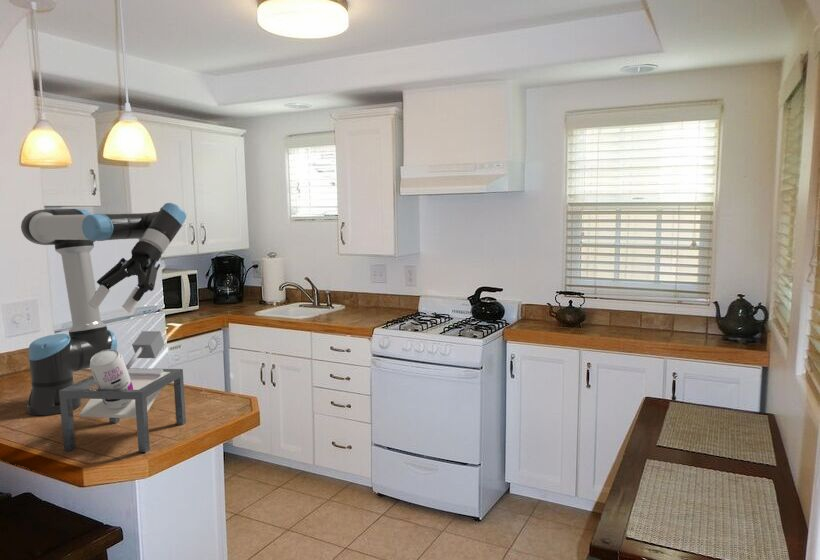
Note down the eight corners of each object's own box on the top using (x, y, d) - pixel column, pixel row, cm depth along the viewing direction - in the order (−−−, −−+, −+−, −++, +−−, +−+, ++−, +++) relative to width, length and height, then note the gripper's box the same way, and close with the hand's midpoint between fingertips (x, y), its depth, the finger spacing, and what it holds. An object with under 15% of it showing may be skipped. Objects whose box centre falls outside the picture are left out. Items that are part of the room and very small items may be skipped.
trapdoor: (82, 422, 168) (76, 408, 165) (140, 344, 197) (136, 331, 195) (145, 423, 166) (139, 409, 163) (194, 344, 196) (190, 331, 193)
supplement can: (119, 388, 174) (104, 345, 167) (142, 394, 172) (127, 351, 164) (98, 406, 168) (80, 363, 160) (121, 413, 165) (104, 369, 158)
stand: (63, 450, 164) (58, 390, 162) (113, 420, 186) (109, 368, 184) (145, 452, 161) (141, 392, 159) (185, 422, 184) (182, 369, 182)
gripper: (189, 257, 174) (150, 318, 163) (128, 255, 185) (88, 313, 174) (173, 240, 169) (132, 302, 157) (111, 239, 180) (68, 297, 168)
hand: (108, 308), depth 166 cm, fingers open, 13 cm apart
